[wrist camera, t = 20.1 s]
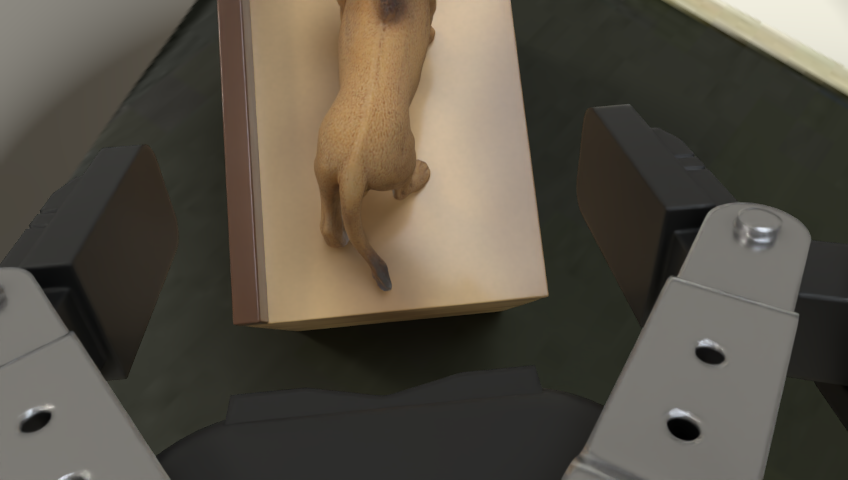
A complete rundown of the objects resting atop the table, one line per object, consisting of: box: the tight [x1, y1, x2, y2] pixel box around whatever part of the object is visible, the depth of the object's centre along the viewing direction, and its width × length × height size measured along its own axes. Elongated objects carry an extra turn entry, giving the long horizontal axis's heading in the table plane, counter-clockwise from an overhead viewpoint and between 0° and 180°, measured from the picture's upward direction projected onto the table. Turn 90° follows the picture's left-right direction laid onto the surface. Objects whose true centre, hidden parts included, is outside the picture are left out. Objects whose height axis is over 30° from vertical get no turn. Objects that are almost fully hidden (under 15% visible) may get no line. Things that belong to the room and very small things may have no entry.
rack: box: [217, 0, 549, 331], centre depth 31 cm, size 12×18×14 cm, turn 6°
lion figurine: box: [314, 0, 436, 291], centre depth 21 cm, size 15×5×9 cm, turn 4°
